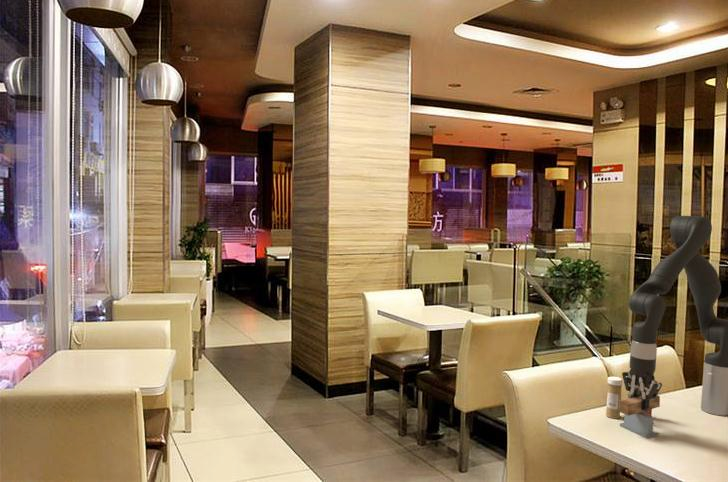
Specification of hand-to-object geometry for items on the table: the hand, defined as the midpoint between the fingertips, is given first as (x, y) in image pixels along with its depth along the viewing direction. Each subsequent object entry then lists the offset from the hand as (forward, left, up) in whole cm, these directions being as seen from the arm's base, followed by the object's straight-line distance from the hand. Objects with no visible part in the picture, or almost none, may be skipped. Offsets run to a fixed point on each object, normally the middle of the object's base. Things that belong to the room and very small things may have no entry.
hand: (639, 407), depth 186 cm
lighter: (-11, -9, -8) cm, 16 cm away
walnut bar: (0, 0, -1) cm, 1 cm away
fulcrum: (0, 0, -8) cm, 8 cm away
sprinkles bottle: (-2, -12, -8) cm, 14 cm away
